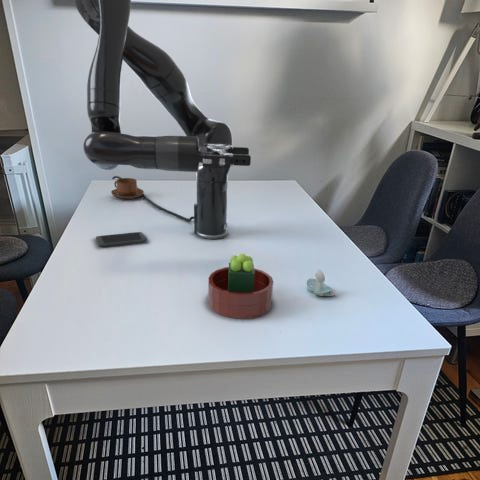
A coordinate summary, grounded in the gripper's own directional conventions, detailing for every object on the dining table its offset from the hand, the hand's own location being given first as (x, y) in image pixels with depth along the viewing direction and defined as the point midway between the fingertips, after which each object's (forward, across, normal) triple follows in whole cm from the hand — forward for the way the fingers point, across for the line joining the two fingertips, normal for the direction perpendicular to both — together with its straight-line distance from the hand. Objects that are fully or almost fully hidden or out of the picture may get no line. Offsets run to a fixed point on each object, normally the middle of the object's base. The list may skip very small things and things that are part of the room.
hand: (249, 156), depth 103 cm
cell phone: (-36, +22, +29) cm, 51 cm away
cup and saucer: (-42, +68, +30) cm, 86 cm away
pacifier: (+19, -8, +30) cm, 37 cm away
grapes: (-2, -14, +29) cm, 33 cm away
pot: (-2, -14, +30) cm, 33 cm away
